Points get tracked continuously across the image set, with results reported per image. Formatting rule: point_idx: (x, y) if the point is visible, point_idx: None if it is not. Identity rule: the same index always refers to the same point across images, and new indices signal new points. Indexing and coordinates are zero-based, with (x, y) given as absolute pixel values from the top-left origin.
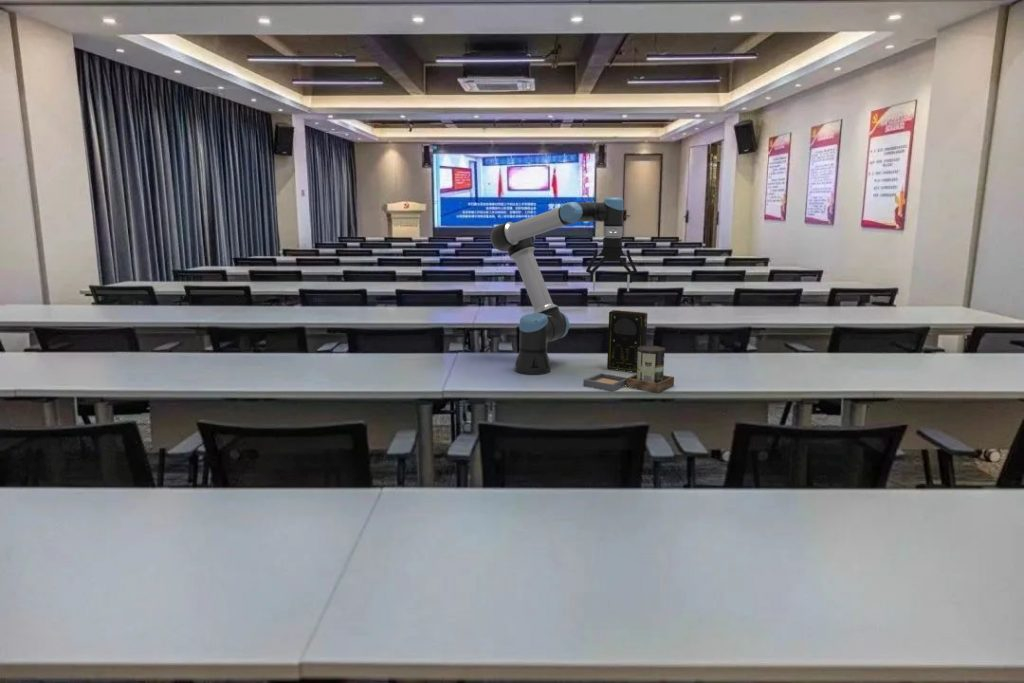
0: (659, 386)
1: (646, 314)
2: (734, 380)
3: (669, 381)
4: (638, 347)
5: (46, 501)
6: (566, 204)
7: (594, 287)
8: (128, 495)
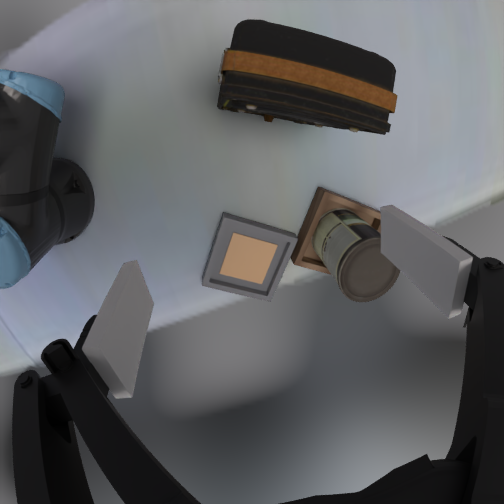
0: None
1: (396, 98)
2: (467, 141)
3: None
4: (341, 274)
5: None
6: None
7: (148, 317)
8: None
